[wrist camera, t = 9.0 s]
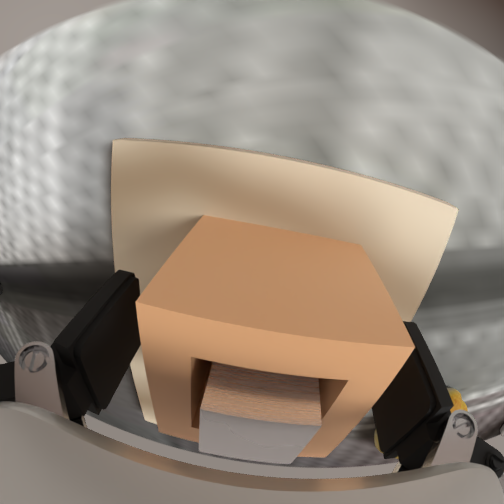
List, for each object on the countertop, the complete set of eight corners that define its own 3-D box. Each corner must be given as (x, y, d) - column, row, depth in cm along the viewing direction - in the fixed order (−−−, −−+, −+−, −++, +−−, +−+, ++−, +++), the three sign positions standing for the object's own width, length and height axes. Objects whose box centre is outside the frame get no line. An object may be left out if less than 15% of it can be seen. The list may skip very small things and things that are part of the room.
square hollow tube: (317, 356, 13) (325, 457, 8) (195, 334, 13) (159, 432, 8) (360, 244, 10) (415, 347, 5) (203, 214, 10) (135, 301, 5)
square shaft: (291, 325, 12) (290, 463, 6) (232, 315, 12) (199, 451, 6) (306, 275, 11) (321, 425, 5) (241, 263, 11) (199, 409, 5)
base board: (317, 440, 18) (317, 450, 18) (148, 411, 19) (145, 420, 18) (447, 202, 10) (458, 209, 9) (125, 138, 10) (112, 139, 9)
